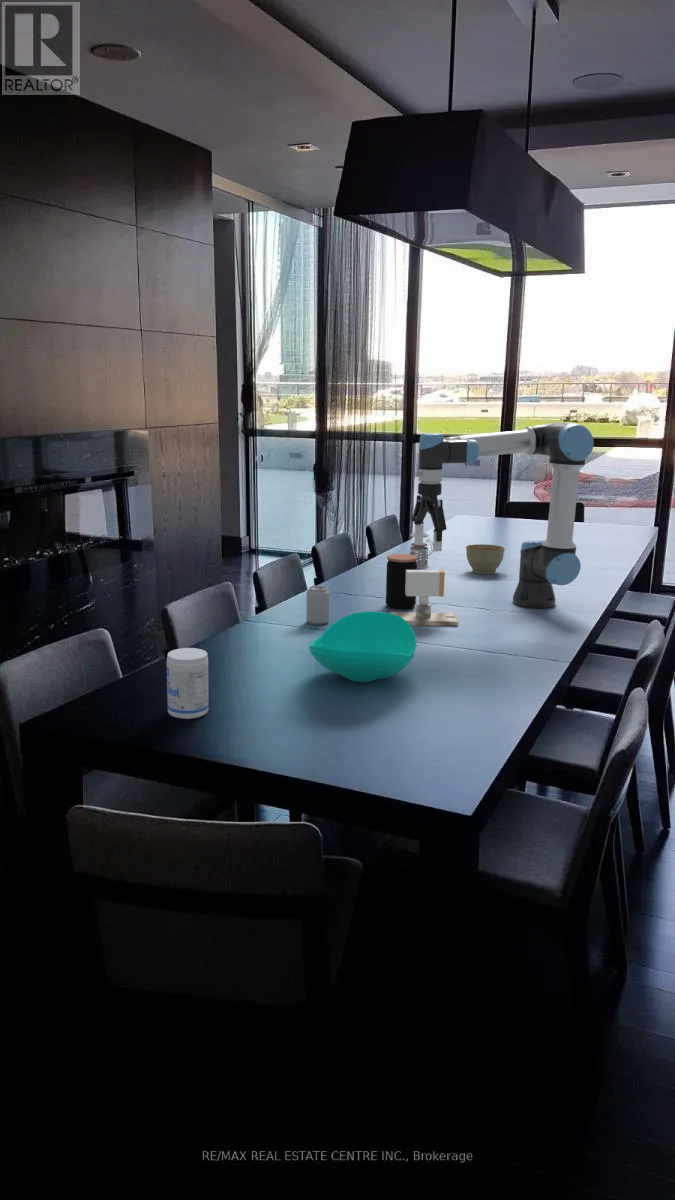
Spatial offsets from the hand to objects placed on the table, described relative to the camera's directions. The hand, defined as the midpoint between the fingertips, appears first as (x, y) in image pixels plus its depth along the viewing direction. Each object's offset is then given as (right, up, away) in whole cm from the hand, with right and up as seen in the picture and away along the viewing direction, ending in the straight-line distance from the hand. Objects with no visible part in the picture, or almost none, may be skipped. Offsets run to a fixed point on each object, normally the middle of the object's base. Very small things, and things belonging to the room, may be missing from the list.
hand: (427, 547), depth 281 cm
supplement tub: (-65, -44, -78) cm, 111 cm away
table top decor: (-23, -38, -51) cm, 68 cm away
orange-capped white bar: (-1, -18, +4) cm, 19 cm away
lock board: (-1, -24, +5) cm, 25 cm away
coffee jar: (-7, -20, +24) cm, 32 cm away
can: (-36, -25, +2) cm, 44 cm away
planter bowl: (+33, -6, +84) cm, 90 cm away
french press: (+7, -3, +94) cm, 95 cm away
